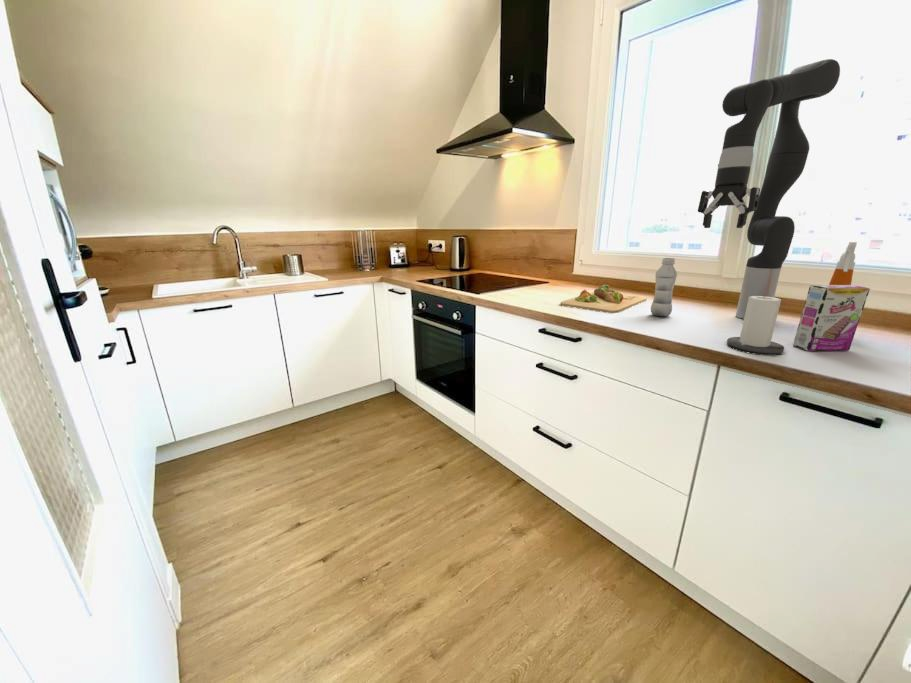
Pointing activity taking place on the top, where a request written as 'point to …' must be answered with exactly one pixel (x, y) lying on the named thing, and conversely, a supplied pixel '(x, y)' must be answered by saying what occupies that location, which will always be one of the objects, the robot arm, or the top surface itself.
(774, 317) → the paper towel roll
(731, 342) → the roll holder
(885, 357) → the top surface
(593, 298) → the cutting board
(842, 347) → the candy bar box
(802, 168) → the robot arm
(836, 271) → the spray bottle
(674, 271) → the plastic bottle
